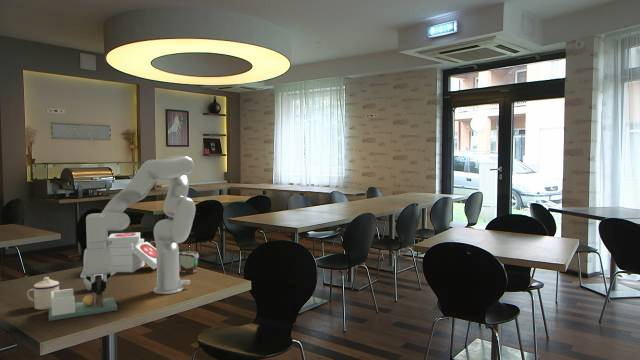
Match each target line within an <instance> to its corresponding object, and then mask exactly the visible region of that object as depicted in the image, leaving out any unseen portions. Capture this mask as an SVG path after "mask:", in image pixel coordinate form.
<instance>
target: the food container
mask: <svg viewBox="0 0 640 360" xmlns="http://www.w3.org/2000/svg"><path fill="white" fill-rule="evenodd" d="M199 258H200V256H199V253H198V251H193V250H188V251H186V250H185V251H179V271H180V272H181V271H185V272H184V273H186V272H190V273H189V274H191V273H194V274H196V273H197V272H198V259H199ZM195 272H196V273H195Z"/></svg>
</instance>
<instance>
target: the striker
mask: <svg viewBox="0 0 640 360" xmlns="http://www.w3.org/2000/svg"><path fill="white" fill-rule="evenodd" d="M95 283H96V293H94V300H95V301H96V304H97V307H102V306H103V299H104V295H103V292H102V275H96V276H95Z"/></svg>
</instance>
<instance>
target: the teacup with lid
mask: <svg viewBox="0 0 640 360" xmlns="http://www.w3.org/2000/svg"><path fill="white" fill-rule="evenodd" d="M42 279H43V280H40V281H39V282H37V283H34V285H33V286H32V287H33V288H30V289H28V291H27V292H26V295H27V299H28V300H29V301H31V302H34V309H35V310H38V311H39V310H41V311H42V310H44V311H45V310H49V307H50V306H51V291H58V290H60V284H61V283H60V282H59V281H58V280H54V279H50V277H49V276H45V277H43V278H42ZM32 291H33V296H34V297H32V296H31V292H32Z"/></svg>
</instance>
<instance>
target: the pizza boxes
mask: <svg viewBox="0 0 640 360" xmlns="http://www.w3.org/2000/svg"><path fill="white" fill-rule="evenodd" d="M108 240H109V241H112V244H110V245H109V246H108V247H110V250H111V256H112V266H113V268H114V269H115V271H116V273H134V272H136V271H137V270H139V269H141V268H143V267H145V266H146V265H147V266H149V267H150V268H151V269H152V270H155V269H157V263H156V247H154V246H153V244H151V243H149V242H148V241H145V238H141V232H140V231H139V232H137V231H136V232H121V233H118V232H117V233H111V234H110V235H109V236H108ZM145 264H146V265H145ZM144 265H145V266H144Z"/></svg>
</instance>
